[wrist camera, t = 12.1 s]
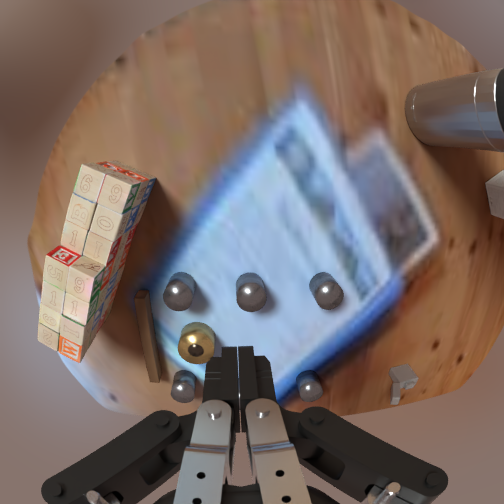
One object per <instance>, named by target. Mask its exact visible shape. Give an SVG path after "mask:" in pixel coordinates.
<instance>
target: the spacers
mask: <svg viewBox="0 0 504 504" xmlns="http://www.w3.org/2000/svg"><path fill="white" fill-rule="evenodd" d="M309 288H310V291H311V292H312V294H313V296H314V298H315V300H316V301H317V303H318V305H319V306H320V307H321V308H322V309H325V310H331V309H334V308H336V307H337V306H339V305H340V303H341V302H342V300H343V297H344V293H343V290H342V289H341V287H340V286H339V285H338V283H337V282H336V281H335V279H334V278H333V277H332V276H331V275H330V274H329V273H326V272H321V273H318V274H316V275H315V276H314V277H313V278H312V279H311V281H310V284H309ZM194 291H195V281H194V279H193V277H192V276H191V275H189V274H187V273H184V272H178V273H175V274H174V275H172V276H171V278H170V280H169V282H168V285H167V287H166V289H165V291H164V294H163V299H164V302H165V304H166V305H167V306H168V307H169V308H170V309H172V310H175V311H184V310H186V309H188V308H189V307H190V305H191V303H192V299H193V295H194ZM236 295H237V303H238V305H239V307H240V308H241V309H243V310H244V311H247V312H255V311H258V310H260V309H261V308H262V307H263V306H264V305H265V303H266V293H265V289H264V285H263V281H262V279H261V277H260V276H258V275H257V274H255V273H245V274H243V275H241V276H240V277H239V278H238V280H237V282H236ZM238 382H239V378H238ZM296 382H297V386H298V389H299V393H300V396H301V399H302V400H303V401H306V402H312V401H315V400H317V399H319V398H320V397H321V396H322V394H323V390H322V387H321V385H320V382H319V379H318V376H317V374H316V373H315V372H314V371H311V370H307V371H304V372H301V373H300V374H299V375H298V376H297V378H296ZM195 385H196V377H195V375H194V374H193V373H191V372H189V371H186V370H181V371H178V372H176V373H175V375H174V380H173V385H172V390H171V396H172V398H173V399H174V400H176V401H178V402H181V403H188V402H191V401H192V400H193V399H194V394H195ZM239 410H240V389H239Z"/></svg>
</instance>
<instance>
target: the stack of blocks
mask: <svg viewBox="0 0 504 504" xmlns="http://www.w3.org/2000/svg"><path fill="white" fill-rule="evenodd" d="M155 180H156V177H153V176H151V175H149V174H146V173H144V172H142V171H139V170H137V169H135V168H133V167H130V166H128V165H126V164H123V163H121V162H118V161H110V162H99V163H88V164H82V165H81V167H80V171H79V174H78V177H77V181H76V184H75V188H74V192H73V193H72V196H71V200H70V204H69V208H68V212H67V216H66V220H65V223H64V228H63V233H62V238H61V245H60V246H58V247H56V248H55V249H54V250H52V251H51V252H49V253H48V254H47V255H46V259H45V266H44V273H43V285H42V296H41V303H40V315H39V326H38V341H40V342H42V343H43V344H45V345H46V346H48V347H50V348H52V349H53V350H55V351H59V353H61V354H62V355H64V356H66V357H68V358H70V359H72V360H74V361H76V362H78V363H80V362H81V361H82V359H83V357H84V355H85V353H86V351H87V350H88V348H89V347H90V345H91V343H92V342H93V340H94V338H95V337H96V334H97V332H98V331H99V329H100V327H101V326H102V324H103V323H104V322H105V320H106V319H107V317H108V315H109V314H110V311H111V307H112V304H113V300H114V298H115V295H116V292H117V289H118V285H119V282H120V279H121V276H122V273H123V269H124V266H125V260H126V258H127V254H128V251H129V248H130V245H131V241H132V238H133V236H134V233H135V230H136V227H137V224H138V222H139V221H140V219H141V216H142V213H143V211H144V208H145V206H146V203H147V199H148V197H149V195H150V192H151V190H152V187H153V185H154V182H155Z"/></svg>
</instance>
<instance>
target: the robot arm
mask: <svg viewBox="0 0 504 504" xmlns="http://www.w3.org/2000/svg"><path fill="white" fill-rule="evenodd" d="M405 112H406V118H407V122H408V124H409V127H410V129H411V130H412V132H413V134H414V135H415V136H416V137H417V138H418V139H419V140H420V141H421V142H423V143H425V144H427V145H431V146H444V147H457V148H469V149H480V150H489V151H497V152H504V68H500V69H493V70H487V71H482V72H477V73H471V74H466V75H461V76H457V77H452V78H448V79H443V80H439V81H434V82H430V83H426V84H422V85H419V86H416V87H414V88H413V89H412V90H411V91H410V92H409V94H408V96H407V99H406V104H405ZM238 357H239V382H238V359H237V347H222V355H221V357H211V358H210V360H209V361H208V362H207V364H206V371H205V372H206V373H205V381H204V391H203V401H202V404H201V405H200V406H199V408H198V410H197V411H195V412H193V413H191V414H188V415H184V416H179V417H178V416H177V415H176V414H175V413H173V412H171V411H166V410H160V411H156V412H154V413H152V414H150V415H149V416H148V417H146V418H145V419H143V420H142V421H140V422H139V423H138V424H136V425H134V426H133V427H132V428H130V429H129V430H127V431H125V432H124V433H123V434H121V435H119V436H118V437H116V438H115V439H113V440H112V441H110V442H109V443H107V444H106V445H104V446H102V447H101V448H99V449H98V450H96V451H95V452H93V453H91V454H90V455H88V456H87V457H85V458H83V459H81V460H80V461H78V462H77V463H75V464H73V465H71V466H70V467H68V468H66V469H65V470H63V471H61V472H59V473H58V474H56V475H54V476H52V477H51V478H49V479H47V480H46V481H45V482H44V483H43V485H42V488H41V492H42V496H43V498H44V500H45V501H46V502H47V503H48V504H136V503H138V502H139V501H141V500H142V499H143V498H145V497H146V496H147V495H149V494H150V493H151V492H153V491H154V490H155V489H156V488H158V487H159V486H161V485H162V484H163V483H164V482H166V481H167V480H168V479H169V478H171V477H172V476H173V475H174V474H176V473H177V472H178V471H179V470H180V474H179V479H178V484H177V489H175V490H173V491H170V492H168V493H167V494H165V495H163V496H162V497H161V498H160V499H158V500H157V501H156V502H155V503H154V504H339V503H338V502H337V501H335V500H334V499H332V498H331V497H329V496H328V495H326V494H325V493H323V492H322V491H320V490H318V489H316V488H314V487H311V486H307V485H306V483H305V480H304V477H303V473H302V470H301V467H300V464H302V465H303V466H304V467H306V468H307V469H309V470H310V471H312V472H313V473H314V474H316V475H318V476H319V477H320V478H322V479H324V480H325V481H326V482H328V483H330V484H331V485H333V486H334V487H336V488H337V489H339V490H341V491H343V492H344V493H346V494H347V495H349V496H350V497H352V498H354V499H356V500H357V501H359V502H361V504H430V503H431V502H433V501H434V500H435V499H436V498H437V497H438V496H439V495H440V494H441V493H442V492H443V491H444V490H445V489H446V487H447V485H448V477H447V475H446V473H445V472H444V471H443V470H442V469H440V468H438V467H436V466H434V465H431V464H429V463H427V462H425V461H423V460H421V459H418V458H416V457H414V456H412V455H410V454H408V453H406V452H404V451H402V450H400V449H398V448H396V447H394V446H392V445H390V444H388V443H386V442H384V441H382V440H380V439H379V438H377V437H375V436H373V435H371V434H369V433H368V432H365V431H364V430H362V429H360V428H358V427H357V426H355V425H353V424H351V423H349V422H347V421H346V420H344V419H343V418H341V417H339V416H337V415H336V414H334V413H332V412H331V411H329V410H327V409H325V408H323V407H310V408H307V409H305V410H304V411H303V412H302V413H297V412H291V411H288V410H285V409H283V408H282V407H281V406H280V405H279V404H278V403H277V401H276V396H275V390H274V384H273V378H272V372H271V366H270V362H269V361H268V359H267V358H266V357H265V356H254V350H253V346H238ZM239 389H240V411H241V427H242V432H246V438H247V450H248V457H249V462H250V469H251V475H252V481H253V484H252V485H248V486H243V487H239V486H233V485H232V477H233V464H234V450H235V442H236V433H239V432H240V413H239Z"/></svg>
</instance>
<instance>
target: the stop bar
mask: <svg viewBox="0 0 504 504" xmlns="http://www.w3.org/2000/svg"><path fill="white" fill-rule="evenodd" d="M134 302H135V309H136V315H137V321H138V326H139V332H140V337H141V342H142V347H143V352H144V357H145V362H146V366H147V371H148V375H149V379H150V382H155V383H159V382H160V378H161V374H162V370H161V365H160V360H159V354H158V349H157V343H156V337H155V330H154V324H153V317H152V310H151V302H150V294H149V290H139V291H138V292H137V294H136V296H135V297H134Z"/></svg>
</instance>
